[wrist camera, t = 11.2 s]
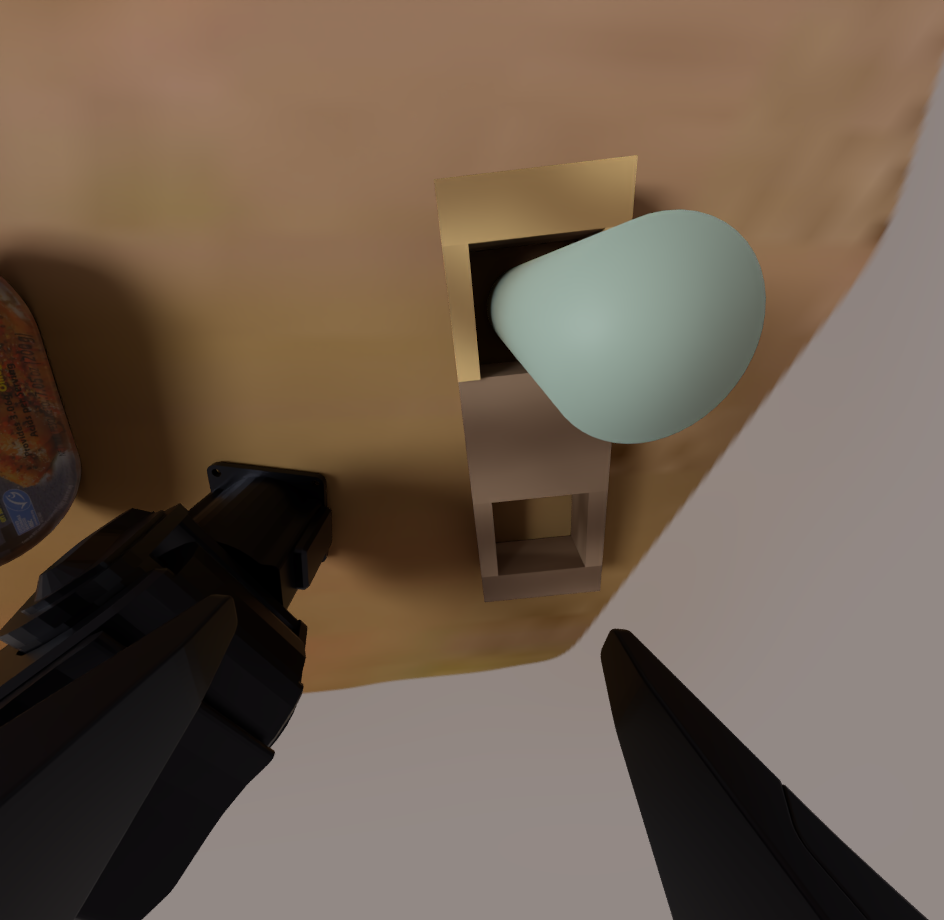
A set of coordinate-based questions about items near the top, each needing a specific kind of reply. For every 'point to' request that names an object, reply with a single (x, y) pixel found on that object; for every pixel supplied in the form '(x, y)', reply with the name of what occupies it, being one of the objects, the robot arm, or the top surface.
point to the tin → (30, 435)
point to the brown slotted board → (510, 385)
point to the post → (636, 323)
